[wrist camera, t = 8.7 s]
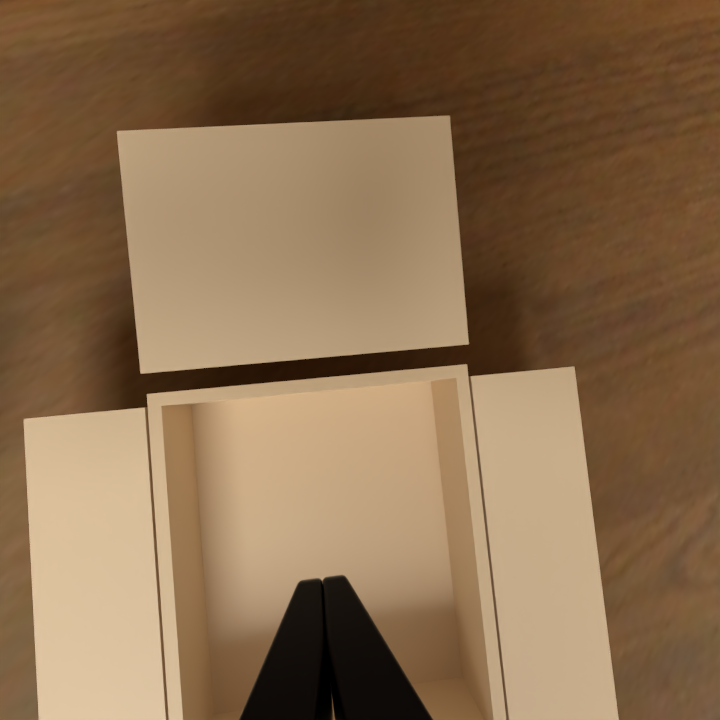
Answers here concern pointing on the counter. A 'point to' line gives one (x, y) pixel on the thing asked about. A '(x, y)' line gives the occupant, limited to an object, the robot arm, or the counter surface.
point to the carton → (320, 542)
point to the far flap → (292, 241)
